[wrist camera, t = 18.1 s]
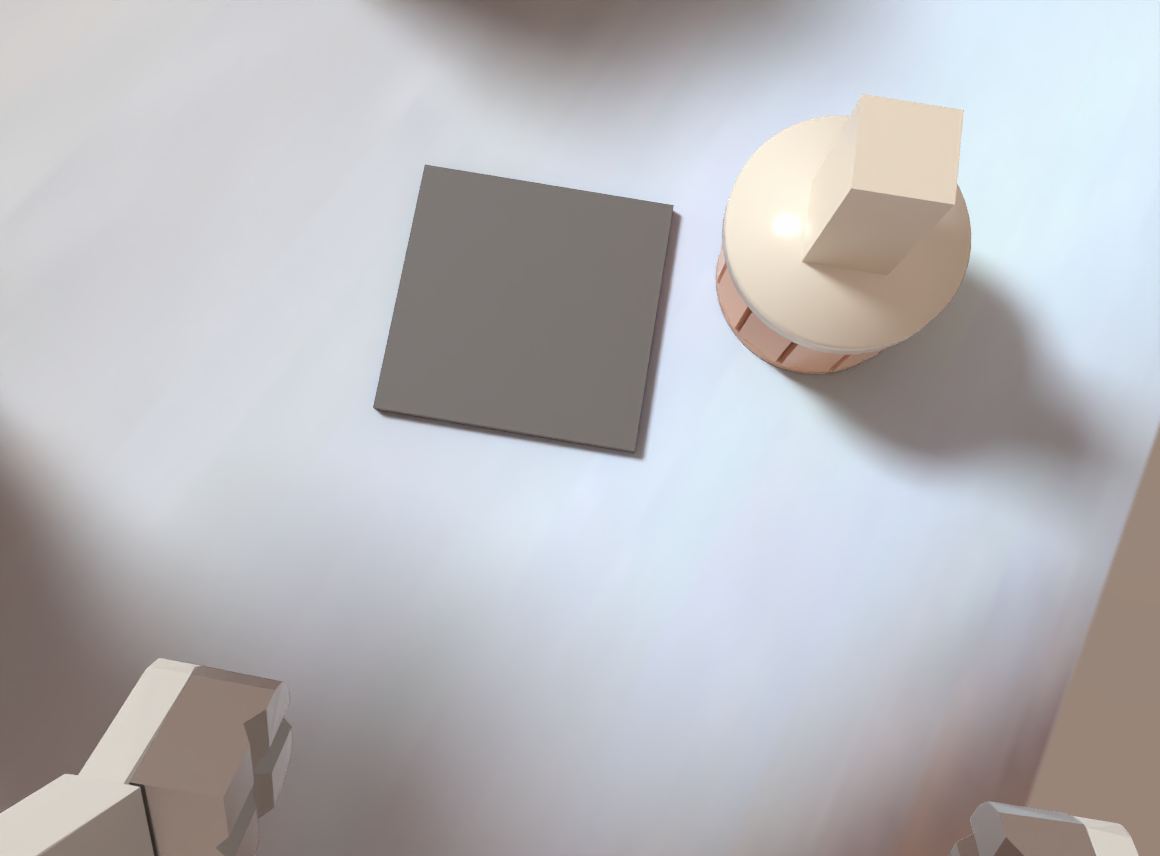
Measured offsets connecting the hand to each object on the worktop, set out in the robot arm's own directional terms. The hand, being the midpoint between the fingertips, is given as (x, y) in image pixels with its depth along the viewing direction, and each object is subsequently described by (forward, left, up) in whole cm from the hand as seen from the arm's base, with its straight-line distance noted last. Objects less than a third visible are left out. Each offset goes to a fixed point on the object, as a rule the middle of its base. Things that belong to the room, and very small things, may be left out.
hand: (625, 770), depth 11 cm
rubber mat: (-5, +15, -31) cm, 35 cm away
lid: (+8, +19, -26) cm, 33 cm away
